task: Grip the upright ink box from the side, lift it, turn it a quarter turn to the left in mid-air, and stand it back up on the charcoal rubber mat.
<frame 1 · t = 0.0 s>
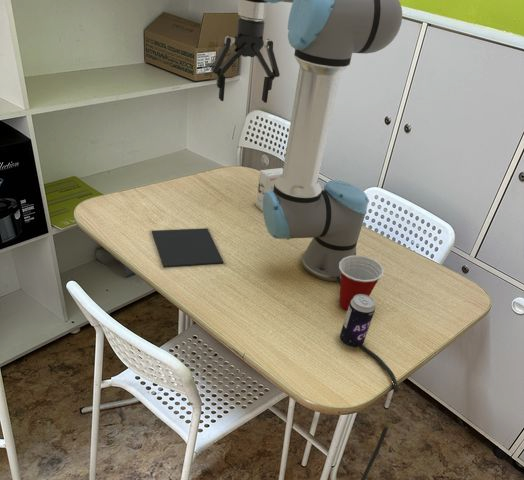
hand: (242, 100, 156), 28 cm above the table, tool pointing down, fingers open, 13 cm apart
mat: (186, 247, 143), on the table
plastic cup: (349, 306, 132), on the table
beverage can: (350, 342, 121), on the table
ink box: (269, 207, 168), on the table
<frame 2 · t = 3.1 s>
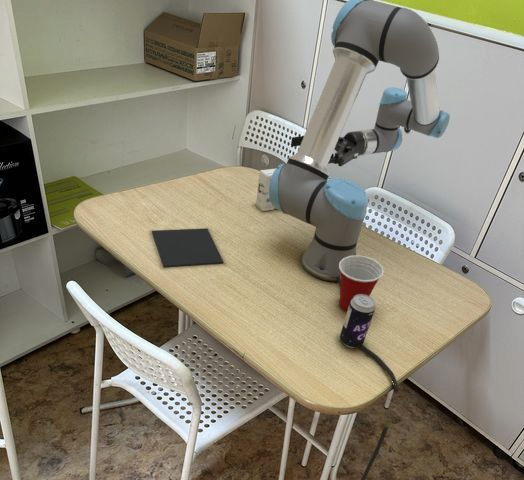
hand: (302, 151, 160), 18 cm above the table, tool horizontal, fingers open, 13 cm apart
nothing on the table moved.
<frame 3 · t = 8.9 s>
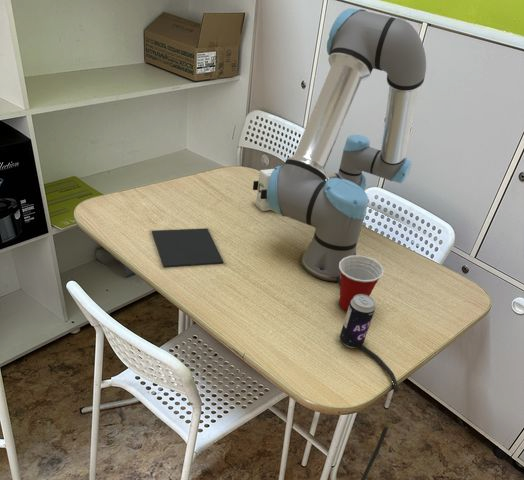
hand: (257, 190, 162), 6 cm above the table, tool horizontal, fingers closed on ink box, 5 cm apart
ink box: (269, 207, 168), on the table, touching gripper
everything else where it was.
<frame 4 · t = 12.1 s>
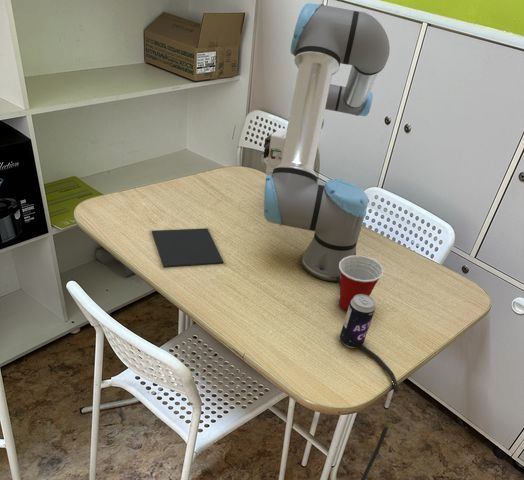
hand: (274, 156, 152), 18 cm above the table, tool horizontal, fingers closed on ink box, 5 cm apart
ink box: (277, 171, 161), point 12 cm above the table, touching gripper
everything else where it was.
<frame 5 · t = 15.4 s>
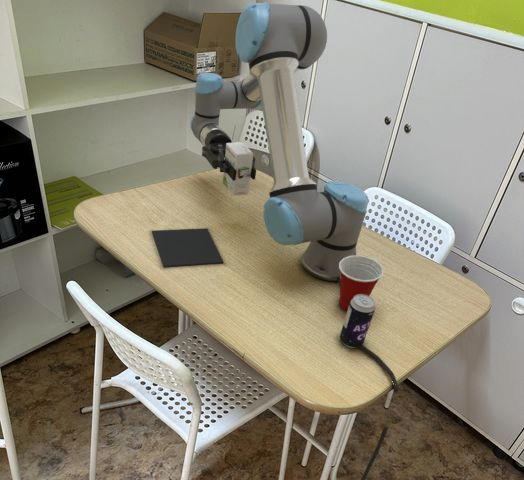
hand: (244, 175, 140), 18 cm above the table, tool horizontal, fingers closed on ink box, 5 cm apart
ink box: (235, 189, 148), point 11 cm above the table, touching gripper
everything else where it was.
when the fingers open (7 cm above the table, at t = 21.1 s): ink box stays where it is, resting on mat.
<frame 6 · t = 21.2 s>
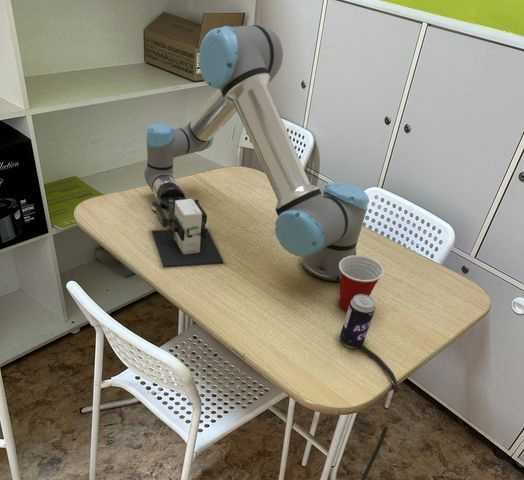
hand: (193, 234, 135), 7 cm above the table, tool horizontal, fingers open, 5 cm apart
ink box: (186, 246, 143), resting on mat
everything else where it was.
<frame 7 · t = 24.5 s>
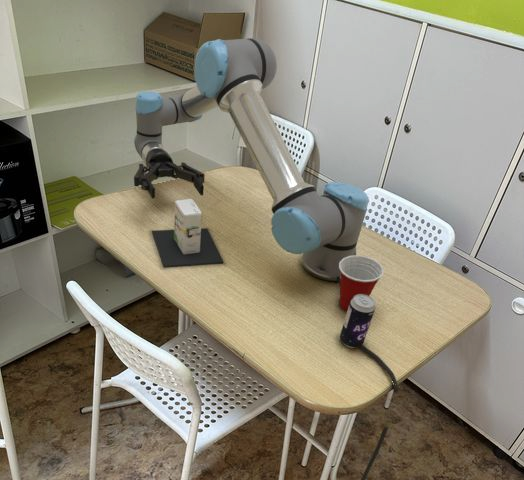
hand: (178, 192, 141), 12 cm above the table, tool horizontal, fingers open, 13 cm apart
nothing on the table moved.
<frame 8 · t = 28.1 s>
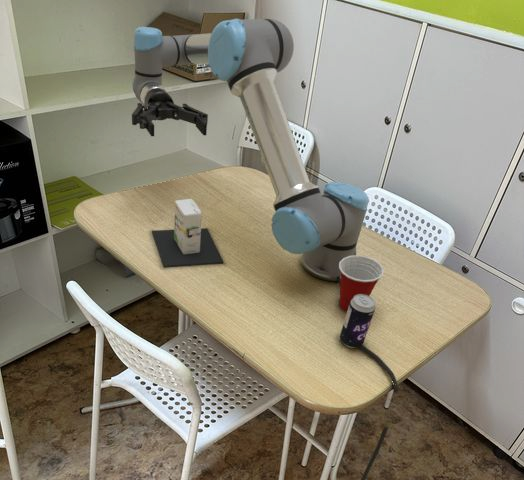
hand: (179, 130, 131), 28 cm above the table, tool horizontal, fingers open, 13 cm apart
nothing on the table moved.
at the end: ink box inside the target area on the mat (0.0 cm from its centre), point 0.3 cm above the mat's base; ink box tilted 0°; the gripper is holding nothing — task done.
